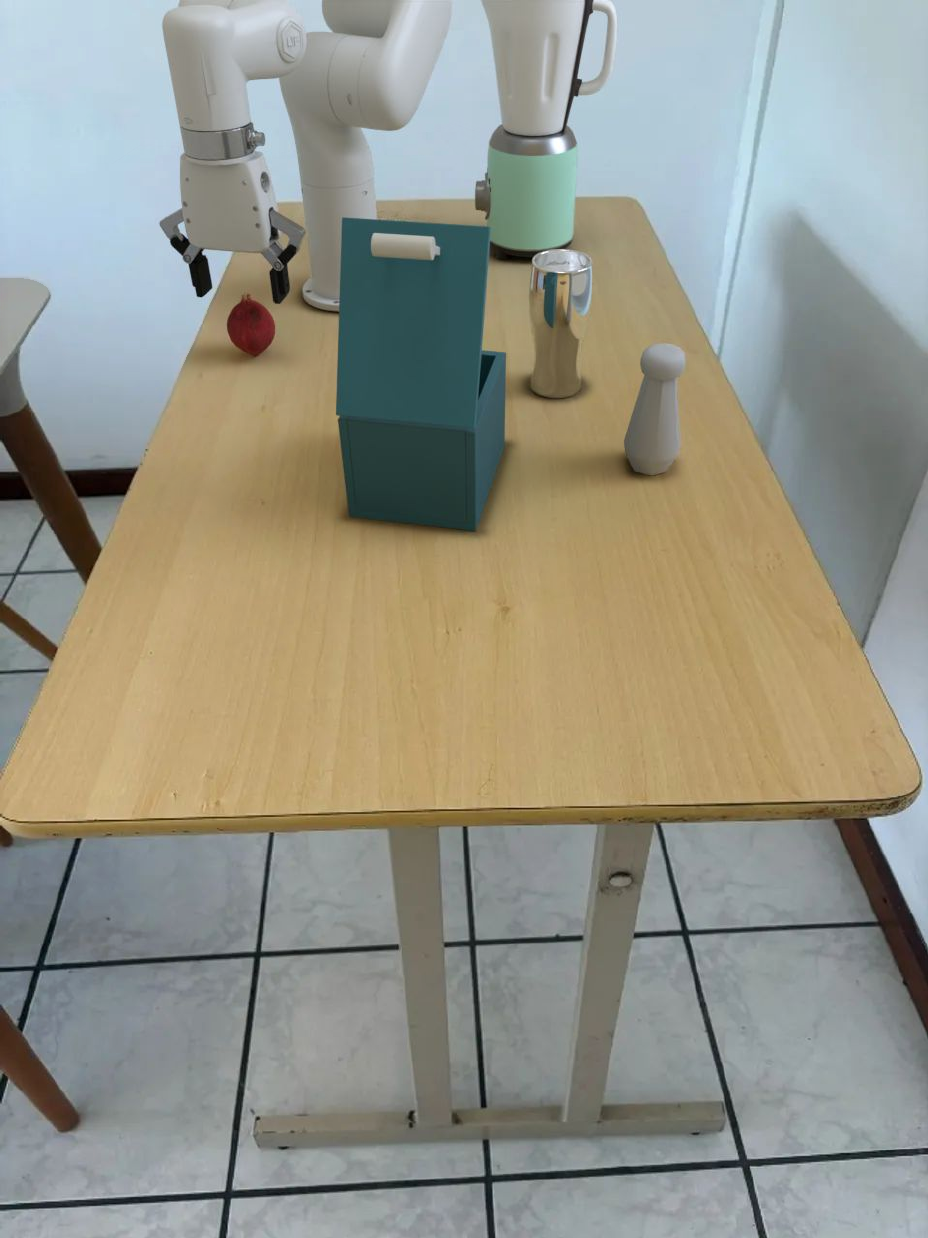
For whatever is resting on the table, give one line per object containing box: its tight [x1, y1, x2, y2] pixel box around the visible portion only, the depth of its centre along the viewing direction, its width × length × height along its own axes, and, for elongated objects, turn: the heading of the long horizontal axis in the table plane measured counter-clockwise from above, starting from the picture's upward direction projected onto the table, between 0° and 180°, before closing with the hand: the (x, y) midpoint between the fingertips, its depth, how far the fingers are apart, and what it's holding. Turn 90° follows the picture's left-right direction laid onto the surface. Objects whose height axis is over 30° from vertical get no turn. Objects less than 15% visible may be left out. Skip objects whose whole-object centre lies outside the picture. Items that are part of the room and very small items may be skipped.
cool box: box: [337, 349, 507, 532], centre depth 95 cm, size 16×13×11 cm
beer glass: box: [528, 248, 594, 399], centre depth 108 cm, size 7×7×15 cm
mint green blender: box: [474, 0, 619, 260], centre depth 134 cm, size 19×13×35 cm
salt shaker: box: [623, 342, 687, 476], centre depth 96 cm, size 6×6×13 cm
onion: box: [226, 291, 276, 357], centre depth 118 cm, size 6×6×8 cm
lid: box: [335, 217, 491, 429], centre depth 81 cm, size 17×13×5 cm
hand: (242, 296), depth 115 cm, fingers open, 9 cm apart
